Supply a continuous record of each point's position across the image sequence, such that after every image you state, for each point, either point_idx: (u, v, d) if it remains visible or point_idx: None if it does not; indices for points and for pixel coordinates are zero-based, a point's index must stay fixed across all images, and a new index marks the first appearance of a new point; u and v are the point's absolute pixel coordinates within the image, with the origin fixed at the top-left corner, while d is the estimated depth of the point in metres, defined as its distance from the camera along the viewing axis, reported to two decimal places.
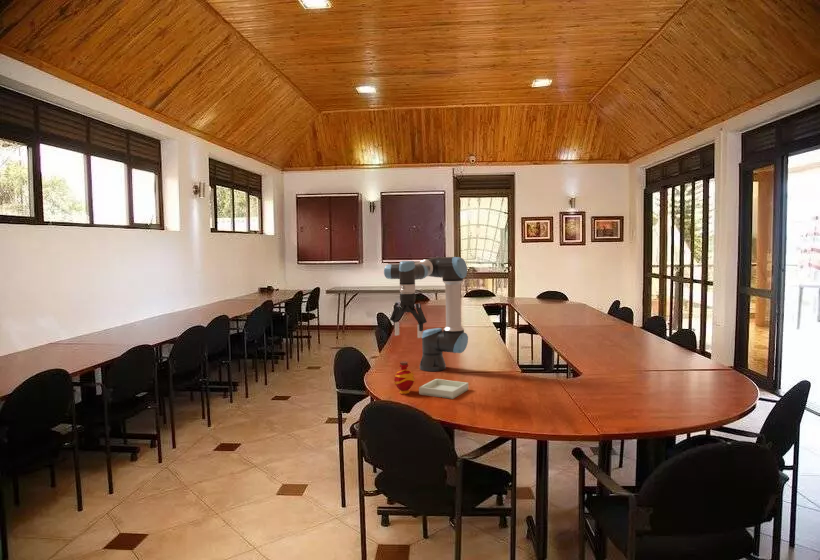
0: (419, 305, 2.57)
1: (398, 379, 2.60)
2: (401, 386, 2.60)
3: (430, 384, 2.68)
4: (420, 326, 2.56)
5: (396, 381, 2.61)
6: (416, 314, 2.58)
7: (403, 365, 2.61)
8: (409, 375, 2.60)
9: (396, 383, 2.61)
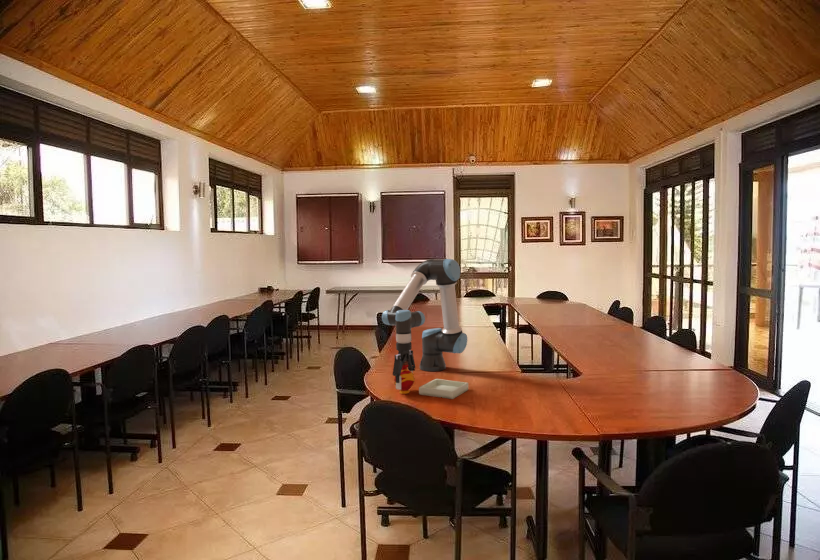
0: (396, 357, 2.57)
1: None
2: (401, 386, 2.60)
3: (430, 384, 2.68)
4: None
5: None
6: (399, 365, 2.59)
7: (403, 365, 2.61)
8: (409, 375, 2.60)
9: None
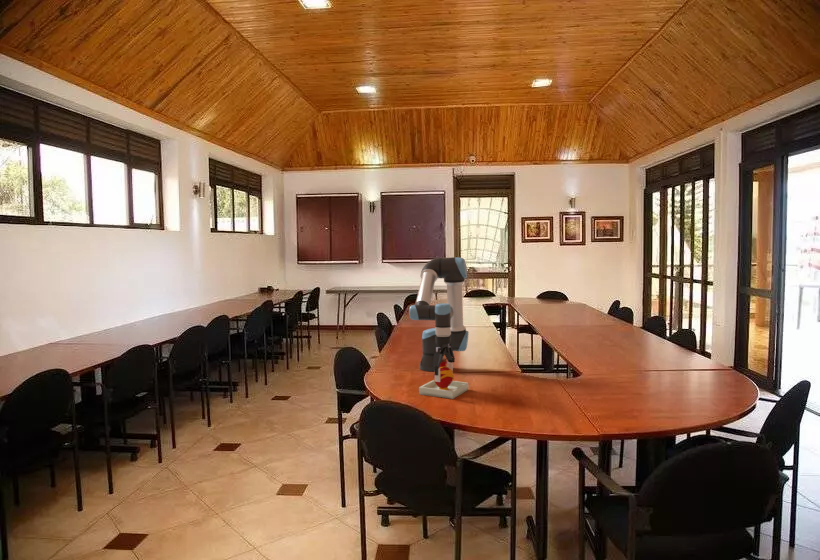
0: (437, 349, 2.56)
1: None
2: (441, 383, 2.59)
3: (430, 384, 2.68)
4: None
5: None
6: None
7: (442, 362, 2.61)
8: (448, 371, 2.60)
9: None
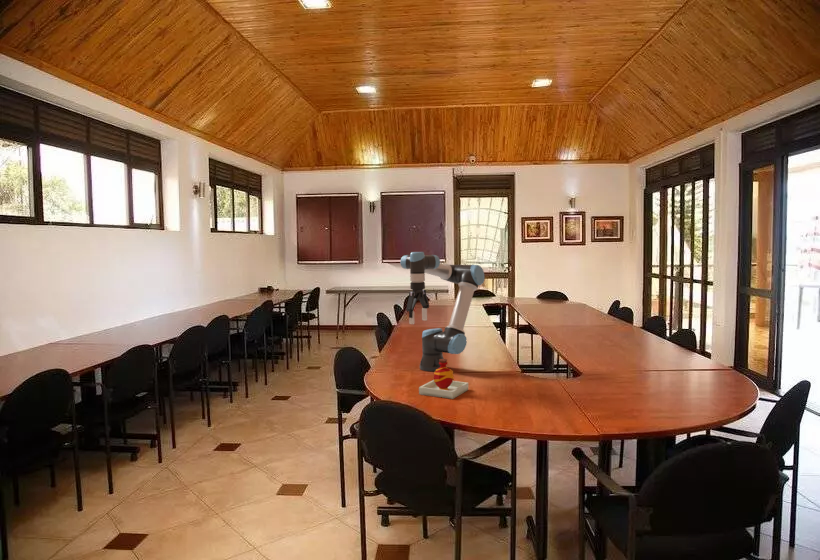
0: (411, 293, 2.73)
1: (438, 376, 2.59)
2: (441, 384, 2.59)
3: (430, 384, 2.68)
4: None
5: (436, 379, 2.60)
6: (412, 302, 2.75)
7: (442, 363, 2.60)
8: (449, 373, 2.59)
9: (435, 381, 2.60)
